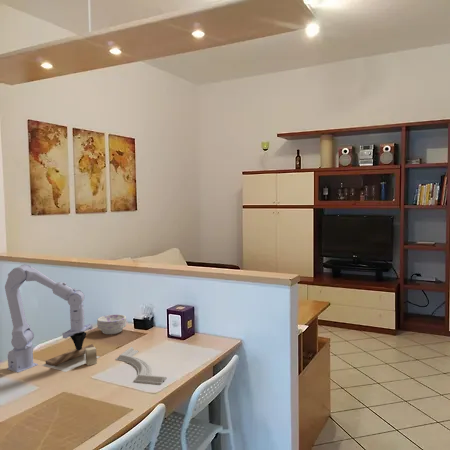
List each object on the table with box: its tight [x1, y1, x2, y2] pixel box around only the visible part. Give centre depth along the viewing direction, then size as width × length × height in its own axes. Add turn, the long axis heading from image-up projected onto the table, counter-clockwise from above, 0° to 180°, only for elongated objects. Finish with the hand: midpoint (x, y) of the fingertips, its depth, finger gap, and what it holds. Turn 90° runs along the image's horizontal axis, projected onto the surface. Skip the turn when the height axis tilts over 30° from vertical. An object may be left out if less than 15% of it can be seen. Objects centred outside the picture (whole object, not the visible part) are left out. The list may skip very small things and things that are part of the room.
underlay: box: [42, 354, 100, 373], centre depth 190 cm, size 19×16×1 cm
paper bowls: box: [96, 314, 127, 335], centre depth 231 cm, size 15×15×8 cm
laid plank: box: [45, 348, 76, 366], centre depth 192 cm, size 16×5×2 cm, turn 149°
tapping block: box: [85, 346, 98, 366], centre depth 186 cm, size 7×4×3 cm
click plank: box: [53, 343, 95, 366], centre depth 189 cm, size 16×8×1 cm
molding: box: [114, 346, 167, 385], centre depth 181 cm, size 42×12×3 cm, turn 30°
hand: (78, 349), depth 187 cm, fingers closed
